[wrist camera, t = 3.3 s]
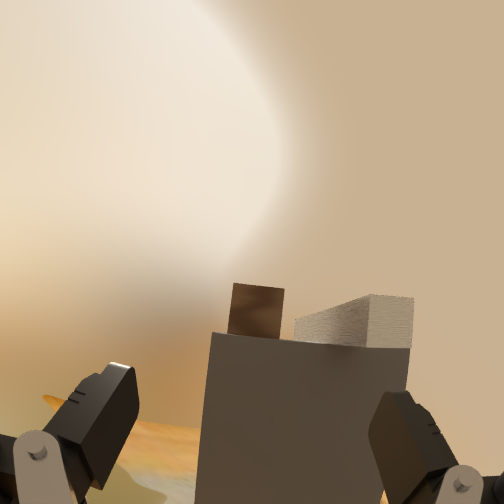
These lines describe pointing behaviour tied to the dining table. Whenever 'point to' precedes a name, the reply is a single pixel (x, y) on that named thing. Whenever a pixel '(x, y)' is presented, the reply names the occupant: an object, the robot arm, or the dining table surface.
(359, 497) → the stand
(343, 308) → the rod
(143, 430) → the dining table surface
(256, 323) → the walnut block
